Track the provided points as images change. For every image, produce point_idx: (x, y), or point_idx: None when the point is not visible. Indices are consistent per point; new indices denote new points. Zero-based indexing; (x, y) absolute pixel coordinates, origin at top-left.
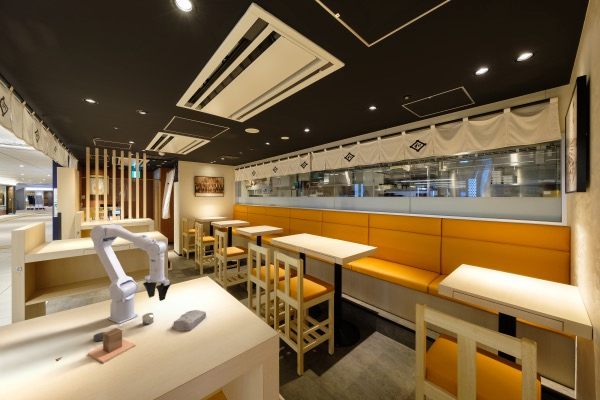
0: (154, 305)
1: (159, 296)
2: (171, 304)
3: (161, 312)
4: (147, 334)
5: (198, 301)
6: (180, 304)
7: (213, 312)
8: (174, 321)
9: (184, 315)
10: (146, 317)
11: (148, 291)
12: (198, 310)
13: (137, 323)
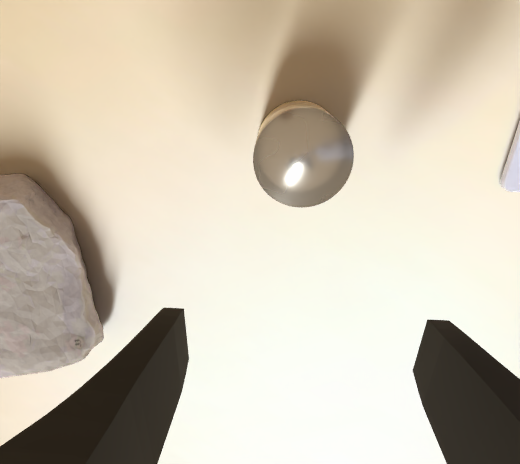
0: (514, 340)
1: (133, 350)
2: (392, 385)
3: (355, 291)
4: (108, 12)
5: (252, 454)
6: (328, 402)
7: (37, 397)
8: (23, 209)
9: (66, 300)
10: (268, 122)
11: (497, 400)
12: (18, 371)
13: (384, 96)
